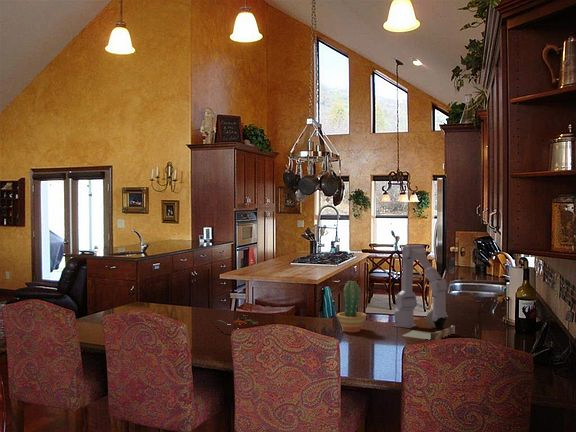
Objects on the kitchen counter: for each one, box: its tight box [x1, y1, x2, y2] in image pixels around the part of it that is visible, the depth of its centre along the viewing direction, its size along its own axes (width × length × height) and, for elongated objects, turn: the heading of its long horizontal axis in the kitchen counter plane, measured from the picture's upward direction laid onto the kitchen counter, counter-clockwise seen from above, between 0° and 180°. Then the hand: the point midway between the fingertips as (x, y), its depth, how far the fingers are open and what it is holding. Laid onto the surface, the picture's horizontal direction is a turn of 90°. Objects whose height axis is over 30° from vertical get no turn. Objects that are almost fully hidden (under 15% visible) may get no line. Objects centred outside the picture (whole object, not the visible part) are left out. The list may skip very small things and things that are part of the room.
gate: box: [430, 326, 453, 341], centre depth 252 cm, size 18×1×3 cm, turn 134°
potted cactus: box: [336, 280, 367, 333], centre depth 273 cm, size 15×15×25 cm
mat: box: [401, 330, 433, 341], centre depth 260 cm, size 14×14×1 cm
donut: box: [426, 308, 445, 329], centre depth 275 cm, size 10×4×10 cm, turn 110°
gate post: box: [450, 324, 456, 334], centre depth 260 cm, size 2×2×4 cm
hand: (439, 333), depth 255 cm, fingers closed
